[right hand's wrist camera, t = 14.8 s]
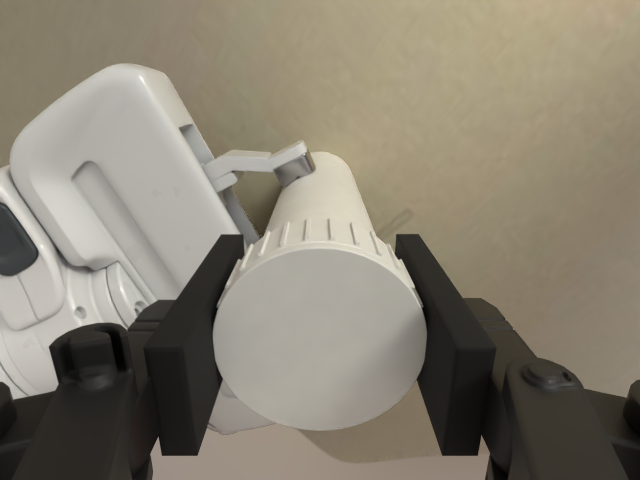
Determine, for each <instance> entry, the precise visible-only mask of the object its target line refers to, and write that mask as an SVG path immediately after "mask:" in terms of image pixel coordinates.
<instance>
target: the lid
mask: <svg viewBox="0 0 640 480" xmlns="http://www.w3.org/2000/svg"><path fill="white" fill-rule="evenodd" d="M216 307H217V308H218V310H217V313H216V317H215V320H214V325H213V344H214V354H215V361H216V364H217V367H218V370H219V372H220V374H221V376H222V378H223V380H224V382H225V383H226V384H227V386H228V387H229V389H230V390H231V391H232V393H233V394H234V395H235V396H236V397H237V398H238V399H239V400H240V401H241V402H242V403H243V404H245V405H246V406H247V407H248V408H249V409H251V410H252V411H254V412H255V413H257V414H258V415H260V416H262V417H264V418H266V419H268V420H270V421H273V422H275V423H278V424H281V425H284V426H287V427H291V428H296V429H302V430H311V431H328V430H338V429H344V428H348V427H352V426H356V425H359V424H362V423H364V422H367V421H370V420H372V419H374V418H376V417H377V416H379V415H381V414H383V413H384V412H386V411H387V410H389V409H390V408H392V407H393V406H394V405H395V404H396V403H397V402H399V401H400V400H401V399H402V398H403V397H404V396H405V394H406V393H407V392H408V391H409V390H410V388H411V387H412V386H413V384H414V383H415V381H416V379H417V377H418V375H419V373H420V372H421V369H422V366H423V363H424V359H425V351H426V341H427V326H426V321H425V317H424V314H423V310H422V307H423V304H422V302H421V300H420V297H419V295H418V293H417V291H416V289H415V286H414V284H413V282H412V280H411V278H410V276H409V273H408V271H407V269H406V267H405V265H404V263H403V261H402V260H401V259H400V260H398V259H397V257H396V256H395V254H394V252H393V250H392V248H391V246H390V245H389V244H387V245H386V244H385V243H383V242H382V241H381V240H380V239H379V238H378V237H376V236H375V233H374V232H373V231H370V232H368V231H366V230H364V229H362V228H360V227H358V226H356V225H355V223H354V222H351V223H350V224H349V223H346V222H342V221H337V220H333V218H332V217H329V219H311V217H308V218H307V220H303V221H298V222H293V223H290V224H289V222H286V223H285V225H284V226H282V227H280V228H278V229H276V230H273V231H271V232H269V231H267V232H266V233H265V235H264V237H262V238H261V239H260V240H259V241H258V242H256V243H255V244H254V245H253V244H252V243H251V244H250V245H249V247H248V250H247V252H246V254H245V255H244V257H243V258H242V260H240V259H238V261H237V263H236V265H235V267H234V269H233V271H232V273H231V275H230V277H229V279H228V281H227V283H226V286H225V289H224V291H223V293H222V295H221V297H220V299H219V301H218V303H217V306H216Z"/></svg>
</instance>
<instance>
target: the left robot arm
mask: <svg viewBox="0 0 640 480" xmlns="http://www.w3.org/2000/svg"><path fill="white" fill-rule="evenodd" d="M315 170H316V165H315V163H314V161H313V159H312V157H311V154H310V152H309V150H308V149H307V146H306V144H305V142H304V140H301V141H298V142H296V143H294V144H292V145H290V146H288V147H286V148H284V149H282V150H280V151H278V152H276V153H274V154H271V152H260V151H246V150H231V151H229V152H227V153H225V154H223V155H221V156H219V157H217V158H214V156H213V155H212V153H211V151H210V149H209V148H208V146H207V144H206V142H205V141H204V139H203V137H202V135H201V134H200V132H199V130H198V128H197V127H196V125H195V123H194V121H193V120H192V118H191V116H190V114H189V113H188V111H187V109H186V108H185V106H184V104H183V102H182V101H181V99H180V97H179V95H178V94H177V92H176V90H175V88H174V87H173V85H172V83H171V81H170V80H169V78H168V77H167V76H166V75H165V74H164V73H163V72H161V71H158V70H155V69H152V68H149V67H146V66H141V65H137V64H129V63H122V64H115V65H111V66H109V67H106V68H104V69H102V70H100V71H99V72H97V73H95V74H93V75H92V76H90V77H89V78H87V79H86V80H84V81H83V82H81V83H80V84H78V85H77V86H75V87H74V88H72V89H71V90H69V91H68V92H67V93H65V94H64V95H63V96H61V97H60V98H59V99H57V100H56V101H55V102H54V103H52V104H51V105H50V106H48V107H47V108H46V109H45V110H44V111H42V112H41V113H40V114H39V115H38V116H37V117H35V118H34V119H33V120H32V121H31V122H30V123H29V124H28V125H27V126H26V127H25V128H24V129H23V130H22V131H21V132H20V134H19V135H18V136H17V138H16V140H15V141H14V144H13V146H12V148H11V152H10V158H9V165H7V166H4V167H2V168H0V382H4V383H5V384H6V385H8V386H9V387H10V390H11V393H12V397H13V400H14V399H19V398H24V397H29V396H33V395H38V394H43V393H48V392H52V391H55V390H56V388H57V386H58V380H57V376H56V373H55V369H54V365H53V361H52V358H51V354H50V350H49V346H50V345H51V344H52V343H53V341H54V340H55V339H56V338H58V337H60V336H61V335H63V334H65V333H66V332H68V331H71V330H73V329H76V328H78V327H81V326H85V325H89V324H94V323H107V322H111V323H116V324H120V325H122V326H123V327H124V328H126V329H128V328H129V326H130V325H131V324H132V323H133V322H135V319H136V318H137V317H138V315H139V314H140V313H141V312H142V310H143V309H144V308H146V307H148V306H149V305H151V304H153V303H154V302H156V301H157V300H176V299H177V298H178V296H179V295H180V293H181V292H182V290H183V289H184V287H185V286H186V285H187V283H188V282H189V280H190V279H191V277H192V276H193V274H194V273H195V272H196V270H197V269H198V267H199V266H200V264H201V263H202V261H203V260H204V258H205V257H206V256H207V254H208V253H209V251H210V250H211V248H212V247H213V245H214V244H215V243H216V241H217V240H218V238H219V237H220V235H221V234H243V237H244V252H245V254H246V252H247V250H248V247H249V245H250V244H251V243H252V244H253V245H254V244H255V243H256V242H258V241H259V240H260V239H261V238H260V236H259V235H258V233H257V231H256V229H255V228H254V226H253V224H252V222H251V221H250V219H249V217H248V215H247V214H246V212H245V210H244V209H243V207H242V205H241V203H240V202H239V200H238V198H237V196H236V195H235V193H234V191H233V189H232V188H231V186H232V185H234V184H236V183H237V182H238V181H239V180H240V178H241V177H242V176H243V175H244V173H245V172H244V171H251V172H271V173H274V172H275V174H276V176H277V178H278V179H279V181H280V183H281V185H282V187H284V186H286V185H288V184H290V183H292V182H294V181H295V180H296V178H297V177H298V176H299V177H304V176H307V175H309V174H310V173H312V172H314V171H315ZM272 424H276V423H275V422H273V421H270V420H268V419H266V418H264V417H262V416H260V415H258V414H257V413H255V412H254V411H252V410H251V409H249V408H248V407H247V406H246V405H245V404H243V403H242V402H241V401H240V400H239V399H238V398H237V397H236V396H235V395H234V394H233V393H232V391H231V390H230V389H229V387H228V386H227V384H226V383H225V382H224V380H223V381H222V384H221V387H220V390H219V393H218V396H217V399H216V402H215V405H214V408H213V411H212V414H211V417H210V420H209V423H208V426H207V428H209V429H211V430H213V431H217V432H219V433H220V434H222V435H228V434H233V433H236V432H238V431H243V430H249V429H254V428H259V427H264V426H268V425H272Z"/></svg>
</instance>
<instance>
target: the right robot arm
mask: <svg viewBox="0 0 640 480" xmlns="http://www.w3.org/2000/svg"><path fill="white" fill-rule="evenodd" d="M244 255H245V252H244V237H243V234H221V235H220V237H219V238H218V240H217V241H216V243H215V244H214V245H213V247H212V248H211V250H210V251H209V253H208V254H207V256H206V257H205V258H204V260H203V261H202V263H201V264H200V266H199V267H198V269H197V270H196V272H195V273H194V274H193V276H192V277H191V279H190V280H189V282H188V283H187V285H186V286H185V287H184V289H183V290H182V292H181V293H180V295H179V296H178V298H177V299H176V300H157V301H156V302H154V303H153V304H151V305H149V306H148V307H146V308H144V309H143V310H142V312H141V313H140V314H139V315H138V317H137V318H136V319H135V322H133V323H132V324H131V325H130V326H129V328H128V329H126V328H124V327H123V326H122V325H120V324H116V323H111V322H107V323H94V324H89V325H85V326H81V327H78V328H76V329H73V330H71V331H68V332H66V333H65V334H63V335H61V336H60V337H58V338H56V339H55V340H54V341H53V343H52V344H51V345H50V346H49V350H50V354H51V358H52V361H53V365H54V369H55V373H56V376H57V380H58V386H57V388H56V390H55V391H52V392H48V393H43V394H38V395H33V396H29V397H24V398H19V399H14V400H13V397H12V393H11V390H10V387H9V386H8V385H6V384H5V383H4V382H0V480H152V476H153V468H152V462H151V456H150V453H151V451H152V449H153V446H154V444H155V442H156V440H157V438H158V436H159V441H160V447H161V452H162V456H197V455H198V452H199V449H200V446H201V443H202V440H203V438H204V435H205V431H206V429H207V426H208V423H209V420H210V417H211V414H212V411H213V408H214V405H215V402H216V399H217V396H218V393H219V390H220V387H221V384H222V381H223V378H222V376H221V374H220V372H219V370H218V367H217V364H216V361H215V354H214V344H213V325H214V320H215V317H216V313H217V310H218V308H217V307H216V306H217V303H218V301H219V299H220V297H221V295H222V293H223V291H224V289H225V286H226V283H227V281H228V279H229V277H230V275H231V273H232V271H233V269H234V267H235V265H236V263H237V261H238V259H240V260H242V258H243V257H244ZM395 256H396V257H397V259H398V260H400V259H401V260H402V261H403V263H404V265H405V267H406V269H407V271H408V273H409V276H410V278H411V280H412V282H413V284H414V286H415V289H416V291H417V293H418V295H419V297H420V300H421V302H422V304H423V307H422V310H423V314H424V317H425V321H426V326H427V341H426V351H425V359H424V363H423V366H422V369H421V372H420V373H419V375H418V377H417V382H418V385H419V388H420V391H421V394H422V397H423V400H424V403H425V406H426V408H427V411H428V414H429V417H430V420H431V423H432V426H433V429H434V432H435V435H436V438H437V441H438V444H439V447H440V450H441V453H442V456H478V451H479V445H480V440H481V434H482V436H483V439H484V441H485V443H486V445H487V447H488V449H489V451H490V456H489V461H488V467H487V472H486V477H485V480H640V380H637V381H635V382H634V383H633V384H632V385H631V386H630V389H629V392H628V396H627V398H625V397H620V396H616V395H611V394H606V393H601V392H596V391H592V390H588V389H584V387H583V385H582V383H581V382H580V381H579V380H578V378H577V377H576V376H575V375H574V374H573V373H572V372H570V371H569V370H567V369H566V368H565V367H563V366H561V365H559V364H556V363H554V362H552V361H550V360H546V359H541V358H537V357H536V356H535V354H534V353H533V352H532V351H531V349H530V348H529V347H528V346H527V345H526V343H525V342H524V341H523V340H522V338H521V337H520V336H519V335H518V334H517V332H516V331H515V330H513V327H512V326H511V325H510V324H509V323H508V321H505V318H504V316H503V315H502V314H501V313H500V311H499V310H498V309H497V308H496V307H494V306H493V305H491V304H490V303H488V302H486V301H485V300H483V299H482V298H462V297H461V295H460V294H459V292H458V291H457V289H456V288H455V286H454V285H453V284H452V282H451V281H450V279H449V278H448V276H447V275H446V273H445V272H444V270H443V269H442V268H441V266H440V265H439V263H438V262H437V260H436V259H435V257H434V256H433V255H432V253H431V252H430V250H429V249H428V247H427V246H426V244H425V243H424V241H423V240H422V239H421V237H420V236H419V234H396V248H395Z"/></svg>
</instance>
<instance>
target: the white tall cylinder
mask: <svg viewBox="0 0 640 480" xmlns="http://www.w3.org/2000/svg"><path fill="white" fill-rule="evenodd" d="M310 154H311V157H312V159H313V161H314V163H315V165H316V170H315V171H314V172H312V173H310V174H309V175H307V176H304V177H299V176H298V177H297V178H296V180H295V181H294V182H292V183H290V184H288V185H286V186H284V187H283V188H282V190H281V193H280V195H279V198H278V201H277V203H276V206H275V208H274V211H273V213H272V216H271V219H270V221H269V224H268V226H267V229H266V231H265V233H266V232H267V231H269V232H271V231H273V230H276V229H278V228H280V227H282V226H284V225H285V223H286V222H289V224H290V223H293V222H298V221H303V220H307V218H308V217H311V219H329V217H332V218H333V220H337V221H342V222H346V223H349V224H350V223H351V222H354V223H355V225H356V226H358V227H360V228H362V229H364V230H366V231H368V232H370V231H373V232H374V229H373V227H372V224H371V221H370V219H369V216H368V214H367V211H366V209H365V206H364V203H363V201H362V198H361V196H360V193H359V191H358V188H357V185H356V183H355V180H354V178H353V175H352V173H351V170H350V168H349V167H348V165H347V164H346V163H345V162H344V161H343V160H342V159H341V158H339V157H338V156H336V155H334V154H332V153H328V152H312V153H310ZM374 233H375V232H374ZM264 235H265V234H264ZM375 236H376V234H375Z"/></svg>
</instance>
